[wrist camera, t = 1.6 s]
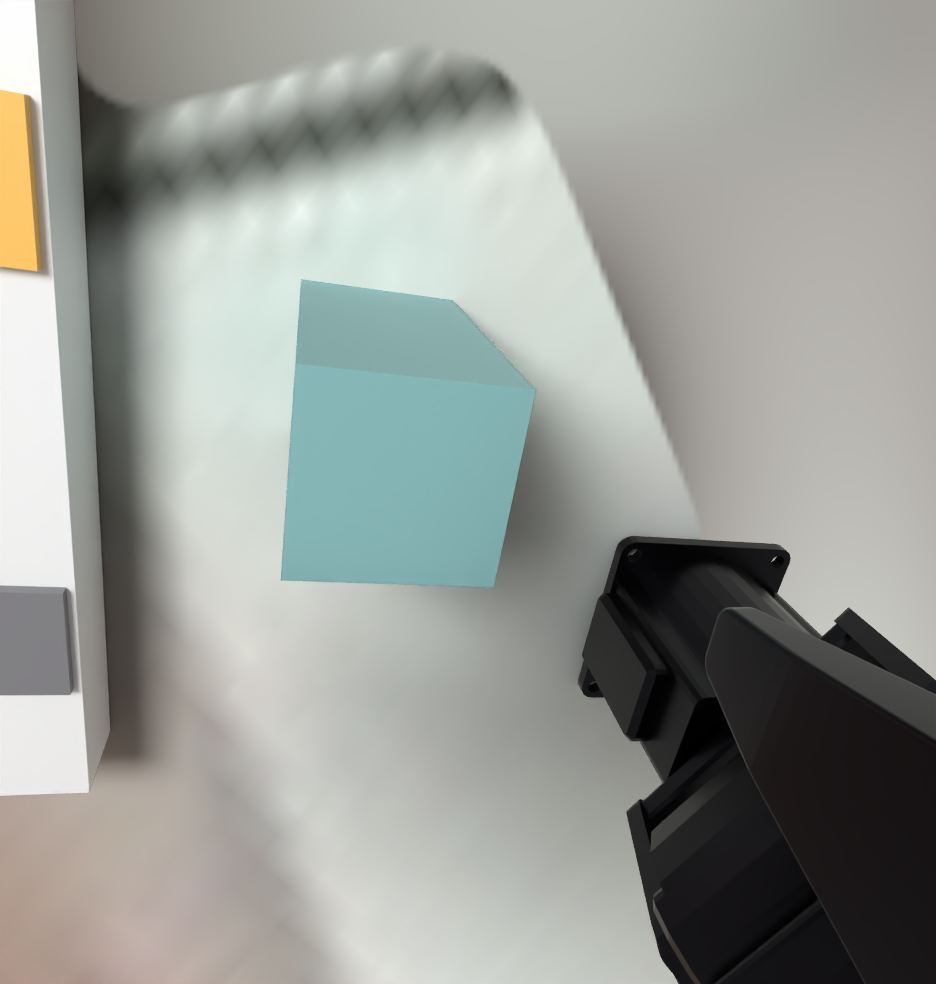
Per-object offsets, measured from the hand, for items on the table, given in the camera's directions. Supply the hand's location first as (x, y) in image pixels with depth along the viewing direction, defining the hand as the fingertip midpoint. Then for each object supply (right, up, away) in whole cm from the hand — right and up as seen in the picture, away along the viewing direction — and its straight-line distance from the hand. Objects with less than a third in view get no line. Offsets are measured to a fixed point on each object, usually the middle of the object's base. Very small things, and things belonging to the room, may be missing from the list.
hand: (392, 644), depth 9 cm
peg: (-2, +5, +11) cm, 12 cm away
